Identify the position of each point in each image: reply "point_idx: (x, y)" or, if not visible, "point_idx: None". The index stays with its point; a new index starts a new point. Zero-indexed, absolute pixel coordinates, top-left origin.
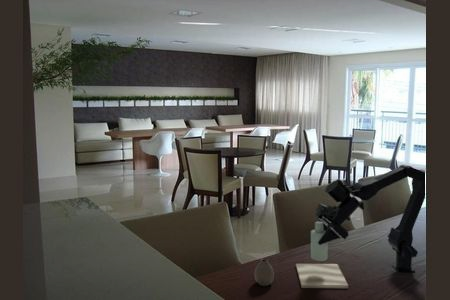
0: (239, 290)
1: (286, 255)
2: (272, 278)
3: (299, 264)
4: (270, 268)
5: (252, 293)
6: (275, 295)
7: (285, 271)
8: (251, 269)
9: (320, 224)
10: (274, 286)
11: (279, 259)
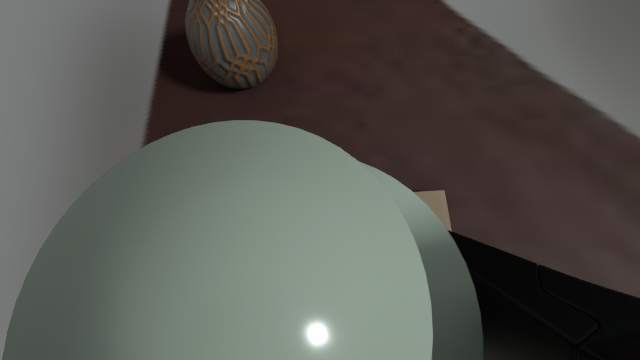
0: None
1: (596, 152)
2: (212, 76)
3: (435, 208)
4: (197, 34)
5: (175, 42)
6: (149, 109)
7: (370, 144)
8: (376, 20)
9: (25, 335)
10: (220, 104)
11: (521, 118)
